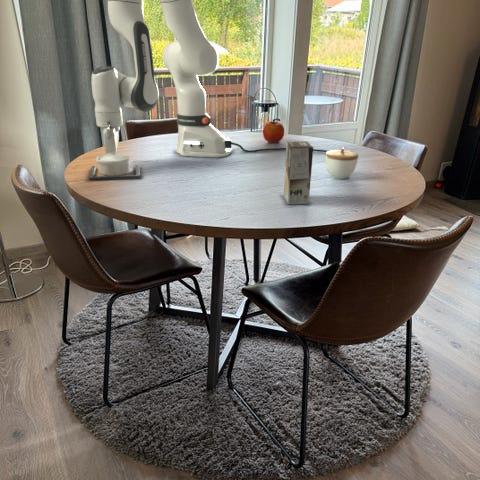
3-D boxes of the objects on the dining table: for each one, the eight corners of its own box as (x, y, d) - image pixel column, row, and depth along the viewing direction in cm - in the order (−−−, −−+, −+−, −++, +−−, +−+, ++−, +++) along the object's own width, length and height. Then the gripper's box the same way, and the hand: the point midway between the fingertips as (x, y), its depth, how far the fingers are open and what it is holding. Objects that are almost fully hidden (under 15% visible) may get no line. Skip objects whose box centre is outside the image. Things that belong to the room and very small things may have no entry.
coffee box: (309, 204, 144) (314, 147, 136) (287, 204, 144) (291, 147, 135) (303, 195, 152) (307, 140, 144) (282, 195, 152) (285, 140, 143)
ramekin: (95, 170, 174) (93, 155, 171) (127, 167, 178) (125, 152, 175) (101, 178, 165) (98, 162, 162) (134, 175, 169) (132, 159, 166)
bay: (92, 169, 176) (91, 166, 175) (139, 167, 178) (138, 164, 178) (89, 180, 163) (89, 177, 162) (140, 178, 166) (139, 175, 165)
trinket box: (357, 174, 174) (361, 146, 169) (353, 182, 165) (356, 153, 160) (327, 171, 177) (329, 143, 172) (321, 178, 168) (323, 150, 163)
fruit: (272, 138, 224) (273, 115, 219) (288, 142, 218) (289, 118, 213) (257, 141, 218) (258, 117, 213) (273, 145, 212) (274, 120, 207)
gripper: (117, 125, 161) (122, 168, 168) (119, 115, 178) (123, 154, 185) (97, 125, 160) (103, 169, 167) (101, 115, 177) (106, 154, 184)
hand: (114, 161), depth 176 cm, fingers closed
